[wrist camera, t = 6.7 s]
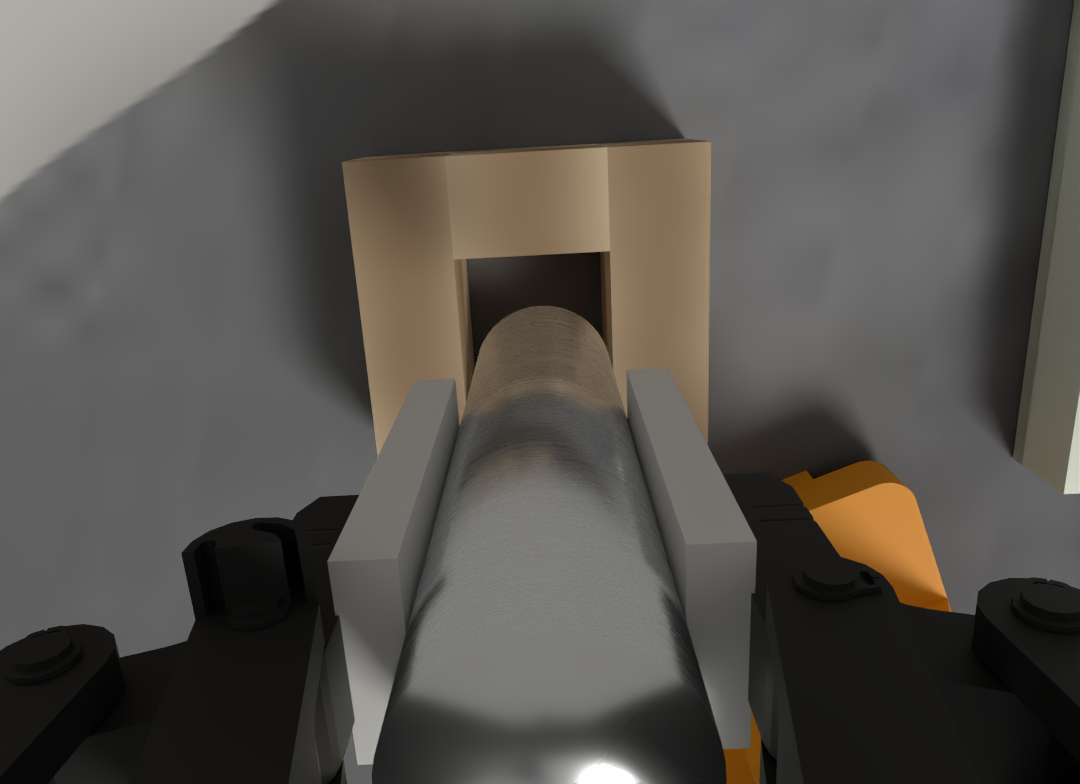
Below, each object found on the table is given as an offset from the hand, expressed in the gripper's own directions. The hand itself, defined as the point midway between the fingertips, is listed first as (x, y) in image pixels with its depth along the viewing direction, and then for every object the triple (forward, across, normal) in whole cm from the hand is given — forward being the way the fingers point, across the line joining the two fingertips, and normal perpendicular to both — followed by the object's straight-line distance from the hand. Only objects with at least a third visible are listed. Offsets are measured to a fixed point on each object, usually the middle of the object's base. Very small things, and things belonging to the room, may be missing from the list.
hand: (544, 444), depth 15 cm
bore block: (+13, 0, 0) cm, 13 cm away
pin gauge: (+5, 0, 0) cm, 5 cm away
